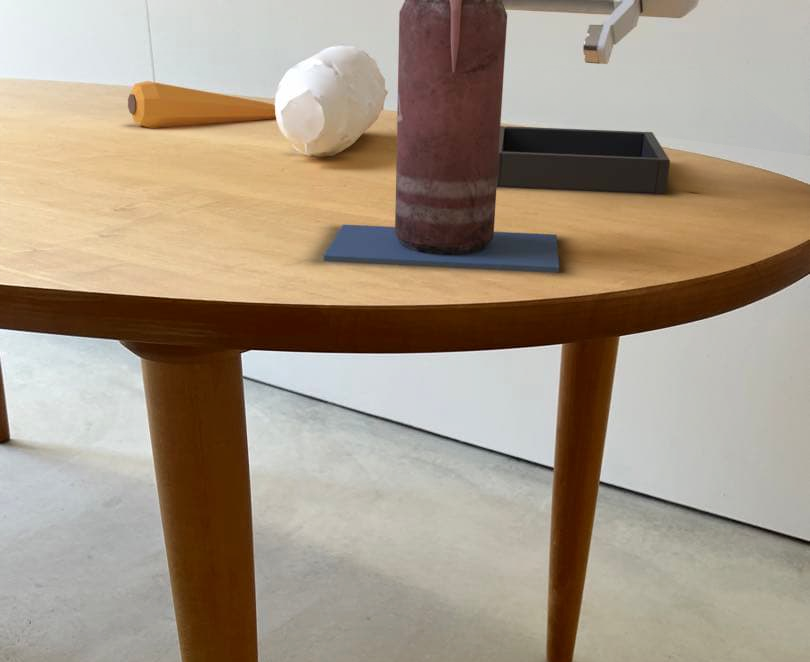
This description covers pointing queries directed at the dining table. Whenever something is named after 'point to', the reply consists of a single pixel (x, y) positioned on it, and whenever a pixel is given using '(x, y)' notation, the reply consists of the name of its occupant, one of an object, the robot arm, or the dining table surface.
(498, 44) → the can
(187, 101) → the carrot
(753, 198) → the dining table surface
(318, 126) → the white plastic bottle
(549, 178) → the dark grey open box
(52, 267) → the dining table surface
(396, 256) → the blue-grey flat slab
